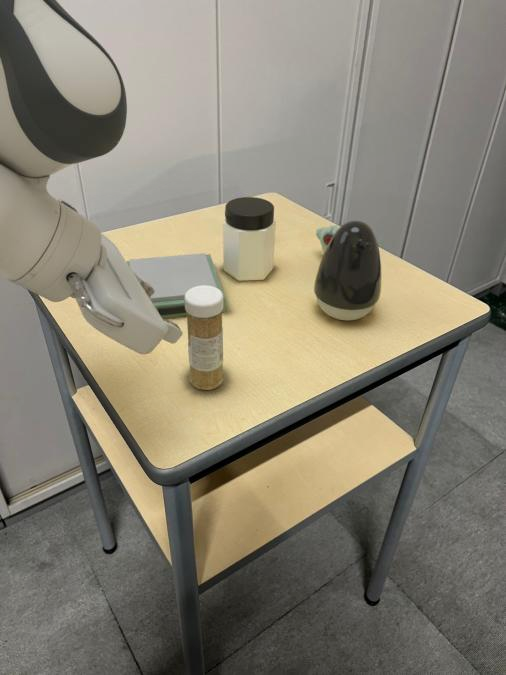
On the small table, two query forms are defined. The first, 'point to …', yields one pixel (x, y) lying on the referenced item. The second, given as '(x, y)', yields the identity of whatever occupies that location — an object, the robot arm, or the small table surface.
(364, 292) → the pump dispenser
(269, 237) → the jar
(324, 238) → the robot head
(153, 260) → the kitchen scale
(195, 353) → the sprinkles bottle
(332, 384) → the small table surface
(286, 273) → the small table surface
